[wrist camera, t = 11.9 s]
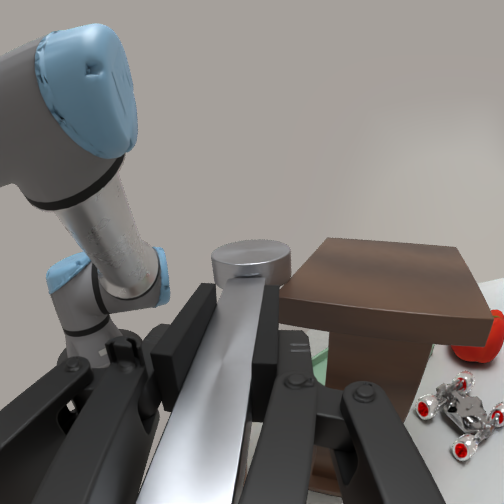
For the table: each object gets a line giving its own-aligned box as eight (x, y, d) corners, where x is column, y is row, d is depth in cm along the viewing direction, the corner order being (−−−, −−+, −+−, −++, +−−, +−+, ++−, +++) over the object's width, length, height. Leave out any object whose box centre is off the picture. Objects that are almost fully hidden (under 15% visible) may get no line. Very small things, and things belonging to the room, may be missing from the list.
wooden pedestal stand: (317, 418, 38) (327, 237, 29) (402, 432, 31) (456, 246, 22) (280, 488, 26) (272, 295, 18) (383, 509, 20) (494, 319, 11)
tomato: (433, 345, 49) (444, 302, 46) (471, 330, 50) (482, 290, 47) (468, 381, 36) (487, 336, 33) (505, 359, 37) (521, 317, 34)
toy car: (504, 426, 23) (518, 405, 22) (461, 467, 21) (477, 448, 19) (455, 382, 37) (464, 361, 36) (410, 410, 35) (419, 389, 33)
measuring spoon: (222, 264, 24) (219, 241, 23) (290, 261, 23) (289, 237, 22) (85, 539, 3) (44, 515, 2) (296, 585, 2) (302, 585, 2)
